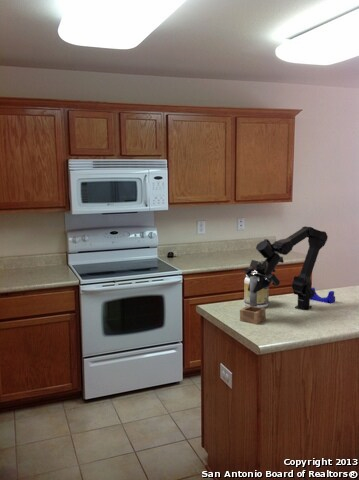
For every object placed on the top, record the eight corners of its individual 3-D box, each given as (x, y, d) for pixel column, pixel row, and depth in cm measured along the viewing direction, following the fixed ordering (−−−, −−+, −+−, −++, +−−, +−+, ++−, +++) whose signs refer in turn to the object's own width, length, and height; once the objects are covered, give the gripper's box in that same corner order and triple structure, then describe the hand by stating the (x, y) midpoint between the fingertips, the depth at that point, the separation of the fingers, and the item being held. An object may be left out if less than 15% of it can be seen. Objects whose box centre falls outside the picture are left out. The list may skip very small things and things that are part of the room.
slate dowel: (255, 304, 189) (255, 276, 188) (257, 306, 186) (258, 277, 184) (248, 304, 189) (248, 276, 187) (250, 306, 186) (251, 278, 184)
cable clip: (335, 302, 214) (335, 290, 213) (331, 304, 211) (331, 292, 210) (313, 297, 222) (313, 286, 221) (309, 299, 219) (309, 288, 218)
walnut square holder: (248, 315, 195) (248, 305, 194) (265, 319, 190) (265, 308, 189) (240, 320, 188) (240, 310, 188) (256, 324, 183) (256, 313, 182)
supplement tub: (268, 309, 204) (269, 275, 201) (243, 308, 206) (243, 274, 204) (268, 302, 216) (268, 269, 213) (244, 301, 218) (244, 269, 216)
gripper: (246, 250, 194) (227, 276, 190) (275, 256, 178) (255, 285, 174) (259, 264, 199) (241, 291, 195) (288, 272, 184) (269, 300, 180)
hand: (251, 291), depth 186 cm, fingers closed on slate dowel, 3 cm apart
